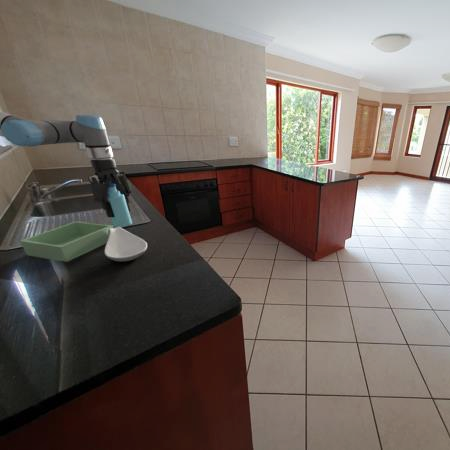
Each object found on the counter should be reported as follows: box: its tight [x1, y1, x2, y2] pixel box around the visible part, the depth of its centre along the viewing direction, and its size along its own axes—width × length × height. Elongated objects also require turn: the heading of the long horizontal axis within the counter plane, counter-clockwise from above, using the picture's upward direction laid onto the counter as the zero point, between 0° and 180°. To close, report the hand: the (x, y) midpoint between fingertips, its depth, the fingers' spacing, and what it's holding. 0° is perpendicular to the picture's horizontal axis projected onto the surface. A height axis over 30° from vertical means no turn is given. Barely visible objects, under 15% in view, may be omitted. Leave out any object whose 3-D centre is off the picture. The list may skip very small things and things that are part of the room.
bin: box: [19, 220, 114, 263], centre depth 86 cm, size 18×18×6 cm
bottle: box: [107, 182, 133, 228], centre depth 99 cm, size 7×7×18 cm
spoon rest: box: [104, 227, 148, 263], centre depth 83 cm, size 24×12×7 cm, turn 49°
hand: (119, 213), depth 101 cm, fingers closed on bottle, 7 cm apart
